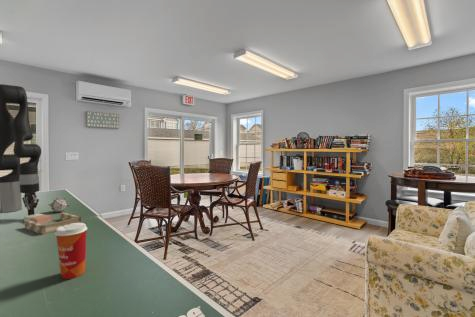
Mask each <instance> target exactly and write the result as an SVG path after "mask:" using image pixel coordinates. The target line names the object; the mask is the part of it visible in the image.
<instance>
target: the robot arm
mask: <svg viewBox="0 0 475 317" xmlns="http://www.w3.org/2000/svg"><path fill="white" fill-rule="evenodd" d="M8 104H13V105H14V104H16V105H19V110H18V112H17V114H16V115H15V117H13V115H12V114H11V112H9V110H8V107H7V105H8ZM29 113H30V112H29V103H28V95H27V91H26V90H25V88H24V87H22V86H19V85H11V84H3V83H2V84H0V171H10V173H8V174H6V175H1V176H0V213H12V212H18V211H20V210H22V209H23V205H22V203H23V204H24V207H25V208H26V210H27V216H28V215H33V214H35V209H36V208H37V206H38V203H39V201H40V200H39V198H37V197H38V196H37V195H36V192H39V191H40V177H39V167H38V166H39V162H40V159H41V155H42V148H41V147H40V145H39V144H37V143H24V142H28V141H31V140H33V138H34V135H33V132H32V128H31V123H30V116H29ZM11 145H14V146H13V150H12V151H13V153H12V154H9V153H8V154H5V152H6V150H7V149H8V148H9V147H11ZM28 158H29V160H27V161H25V162H21V159H28ZM22 194H24V196H23V197H22Z"/></svg>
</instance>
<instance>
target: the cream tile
mask: <svg viewBox="0 0 475 317" xmlns="http://www.w3.org/2000/svg"><path fill="white" fill-rule="evenodd" d="M41 215H45V214H43V213H38V212H37V213H34V214H33V215H28V214H27V215H24V217H23V220H24V222H25V220H30V218H32V217H36V216H41Z"/></svg>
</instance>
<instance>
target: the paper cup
mask: <svg viewBox="0 0 475 317" xmlns="http://www.w3.org/2000/svg"><path fill="white" fill-rule="evenodd" d="M87 230H88V227H87V225H86V223H84V222H81V223H72V224H69V225H68V224H67V225H64V226H60V227H58V228H57V230H56V231H54V232H55V233H54V235H55V236H56V244H57V245H56V246H57V252H58V261H59V267H60V275H61V278H62V279H63V280H72V279H75V278H78V277H81V276H83V275H84V274H85V271H86V256H87V255H86V254H87V252H86V251H87V248H86V247H87Z"/></svg>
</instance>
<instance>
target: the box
mask: <svg viewBox="0 0 475 317" xmlns="http://www.w3.org/2000/svg"><path fill="white" fill-rule="evenodd" d="M61 212H62V211H61ZM61 212H59V219H60V221H56V222H51V223H48V224H39V223H36V222H33V221H30V220H25V221H24V229H26V230H28V231H32V232H35V233H37V234H40V235H46V234H50V233H53V232H56V230H57V228H58V227H60V226H64V225H67V224H68V225H69V224H72V223H82V216H79V215H75V214H70V213H67V212H62V213H61Z"/></svg>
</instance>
